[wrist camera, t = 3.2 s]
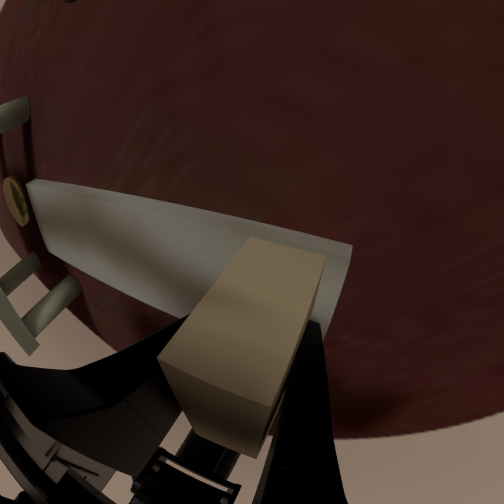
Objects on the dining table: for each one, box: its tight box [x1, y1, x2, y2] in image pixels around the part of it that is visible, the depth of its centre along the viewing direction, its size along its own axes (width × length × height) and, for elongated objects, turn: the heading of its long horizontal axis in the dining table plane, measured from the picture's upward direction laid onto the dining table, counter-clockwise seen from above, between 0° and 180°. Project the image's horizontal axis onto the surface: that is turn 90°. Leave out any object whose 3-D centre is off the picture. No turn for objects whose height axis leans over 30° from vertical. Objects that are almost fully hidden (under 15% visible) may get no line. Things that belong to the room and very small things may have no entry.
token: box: [3, 174, 32, 226], centre depth 18 cm, size 5×5×1 cm
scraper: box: [26, 179, 353, 459], centre depth 11 cm, size 6×21×6 cm, turn 89°
